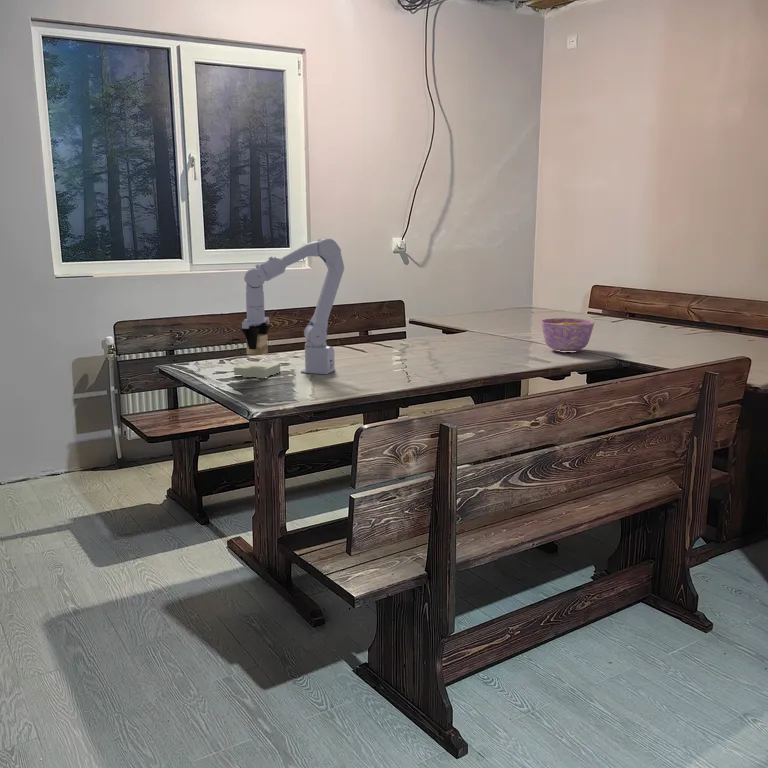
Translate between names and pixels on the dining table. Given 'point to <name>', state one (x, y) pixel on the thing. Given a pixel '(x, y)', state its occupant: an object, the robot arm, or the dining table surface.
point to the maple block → (259, 346)
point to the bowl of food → (567, 333)
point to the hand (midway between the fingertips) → (256, 347)
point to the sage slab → (257, 369)
